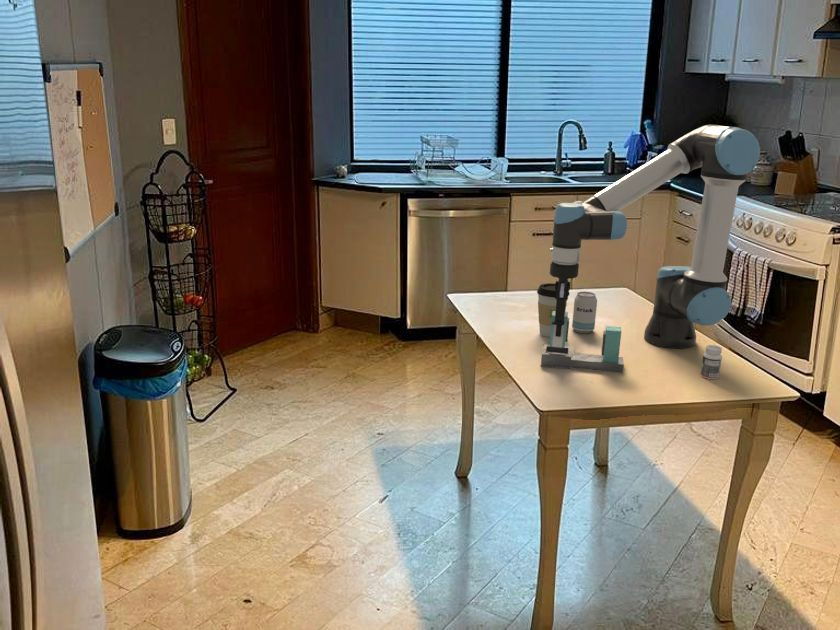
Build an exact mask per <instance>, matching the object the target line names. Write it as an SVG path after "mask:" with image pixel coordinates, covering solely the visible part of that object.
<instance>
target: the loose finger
mask: <svg viewBox="0 0 840 630" xmlns="http://www.w3.org/2000/svg"><path fill="white" fill-rule="evenodd" d="M555 313H556V311H553V313H552V322H554V321H555ZM552 322H551V333H550V337H549V344H548V345H549V347H552V341H553V330H554V325H553V324H552ZM569 327H570V317H569V312H568V311H565V315H564V332H563V343H562V348H565V347H566V343H568V337H569ZM559 348H560V347H559Z"/></svg>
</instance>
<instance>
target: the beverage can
mask: <svg viewBox="0 0 840 630" xmlns="http://www.w3.org/2000/svg"><path fill="white" fill-rule="evenodd" d="M597 306H598V298H597V296H596V293H594V292H591V291H578V292H577V294H576V295H575V297H574V301H573V310H572V311H573V312H572V323H571V328H572V329H573V330H575V332H577V333H579V334H590V333H592V331H594V330H595V329H596V328H595V327H596V319H597V318H596V317H597V308H598V307H597Z"/></svg>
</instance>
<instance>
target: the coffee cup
mask: <svg viewBox="0 0 840 630" xmlns="http://www.w3.org/2000/svg"><path fill="white" fill-rule="evenodd" d="M555 283H556V282H555ZM555 283H553V282H552V283H551V282H549V283H541V284H540V285H539V287H538V288H537V289H536V294H537V297H538V300H537V308H538V311H537V312H538V313H537V314H538V323H539V334H540V335H541V336H542V337H543V336H544V337H547V338H550V333H551V322H552V313H553V311H556V301H557V300H556V299H555V293H556V290H555ZM569 296H570V292H569V293H568V297H569ZM567 301H568V300H566V305H565V311H566V309H567V304H568V303H567Z"/></svg>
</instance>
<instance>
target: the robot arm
mask: <svg viewBox="0 0 840 630" xmlns="http://www.w3.org/2000/svg"><path fill="white" fill-rule="evenodd" d="M760 155H761V147H760V143H759V141H758V138H756V136H755V135H754V134H753V133H752V132H750V131H749V130H747V129H743V128H741V127H738V126H729V125H728V126H725V125H719V124H705V125H702V126H700V127H698V128H696V129H693V130H692V131H689V132H688V133H686V134H684V135H683V136H680V137H679V138H677V139H676V140H674V141H672V142H671V143H669V144H668V146H667V149H666V150H665V151H663V152H662V153H660V154H659V155H656V156H655V157H653V158H652V159H650V160H649V161H647V162H646V163H644V164H642V165H640V166H639V167H637V168H636V169H634V170H632V171H631V172H630V173H627V175H625V176H623V177H621V178H620V179H619V180H617V181H615V182H613V183H612V184H610V185H608V186H607V187H605V188H603V189H602V190H599V192H596V193H595V194H594V195H592V196H590V197H589V198H587V199H585V200H576V201H574V202H562V203H558V204H557V205H556V207H555V211H554V216H553V217H554V218H553V232H552V242H551V243H552V245H551V246H552V248H551V247H550V248H549V252H551V254H550V255H551V257H550V259H551V262H550V266H549V274H550V276H552V277H553V278H558V280H555V290H556V293H555V299H556V300H557V301H556V313H555V321H554V322H552V324H553V325H554V330H553V341H552V347H560V348H562V343H563V332H564V315H565V312H566V310H565V305H566V300H567V301H568V300H569V296H568V293H569V294H570V291H571V290H570V289H571V281H569V279H576V278H577V277H578V276H579V267H580V264H579V262H580V259H581V249H582V247H581V246H582V241H587V240H589V241H590V240H591V241H592V240H593V241H594V240H596V241H597V240H599V241H602V240H603V241H612V240H613V241H615V240H621V239H623V238H624V237H625V235H626V232H627V228H628V220H627V217H626V215H625V213H623V212H622V211H621V210H623V209H624V208H626V207H628V206H629V205H631V204H633V203H634V202H636V201H637V200H639V199H641V198H642V197H644V196H645V195H646V196H647V194H648V193H651V192H653V191H654V190H656V189H658V188H659V187H660V186H662V185H664V184H665V183H667V182H668V181H670V180H672V179H673V178H675V177H676V176H678V175H680V174H689V173H690V172H692V171H693V170H697V169H699V168H701V172H700V177H701V178H702V180H703V181H704V187H703V188H704V190H703V195H702V201H701V207H700V212H699V219H698V222H697V223H698V224H697V229H696V235H695V242H694V247H693V252H692V259H691V265H690V266H683V265H681V266H680V265H677V266H676V265H667V266H662V267H660V268H659V269H658V272H657V276H656V283H655V285H656V286H655V292H654V293H655V294H654V299H653V300H654V301H653V309H652V315H651V316H650V319H649V321H648V323H647V325H646V327H645V329H644V333H643V334H644V335H643V338H644V340H645V341H646V342H648V343H650V344H652V345H654V346H657V347H662V348H668V349H669V348H670V349H688V348H692V347H694V346H695V345H696V342H697V333H696V326H695V324H698V325H700V326H703V327H706V326H707V327H709V326H713V325H716V324H718V323H720V322H721V320H724V319H725V318H726V317H727V315H728V314H729V312H730V309H731V308H732V298H731V295H730V294H729V292H728V291H727V290H726V288H727V283H728V277H727V276H726V275H725V273H724V269H725V264H726V263H725V262H726V257H727V251H728V245H729V241H730V240H729V239H730V235H731V229H732V224H733V219H734V213H735V208H736V204H737V199H738V198H737V196H738V192H739V187H740V186H741V185H742V184H743V183H745V182H746V180H747V176H748V173H750V172H751V171H752V170H753V169H754V168H755V167H756V165H758V162H759V160H760V157H761V156H760ZM566 306H567V305H566Z"/></svg>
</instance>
